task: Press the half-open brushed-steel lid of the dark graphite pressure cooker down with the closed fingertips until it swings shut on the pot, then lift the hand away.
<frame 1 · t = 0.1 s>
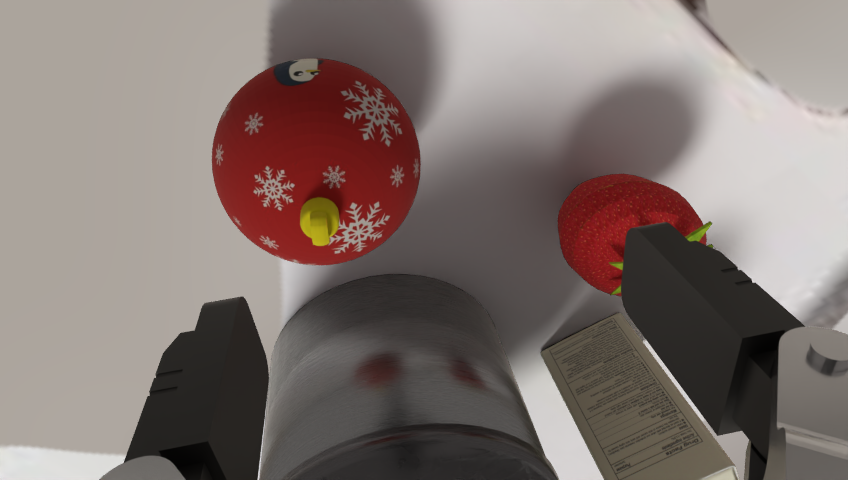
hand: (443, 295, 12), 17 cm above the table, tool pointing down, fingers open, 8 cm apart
christmas ornament: (319, 125, 27), on the table
strawberry: (585, 185, 32), on the table
cooker pot: (388, 366, 37), on the table
skincare box: (588, 346, 39), on the table
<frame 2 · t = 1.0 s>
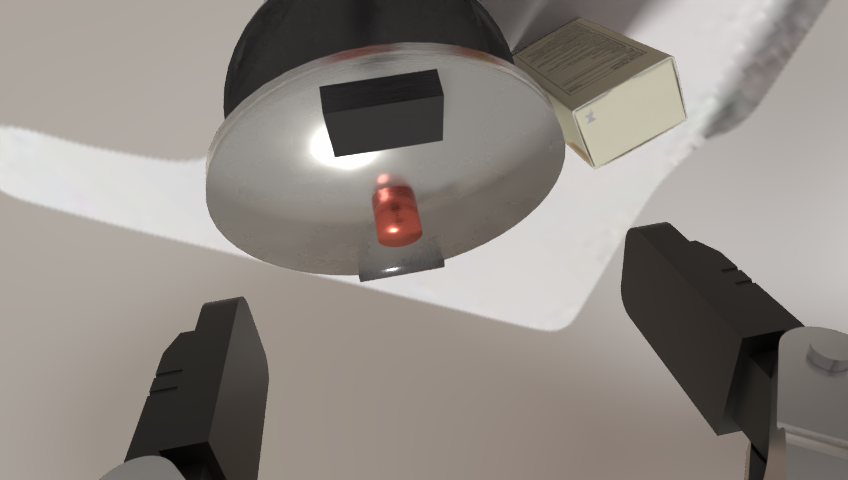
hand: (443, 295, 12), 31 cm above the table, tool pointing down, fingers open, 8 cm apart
cooker pot: (363, 63, 39), on the table
cooker lid: (394, 208, 26), point 18 cm above the table, hinge at 30.0°
skincare box: (553, 61, 42), on the table
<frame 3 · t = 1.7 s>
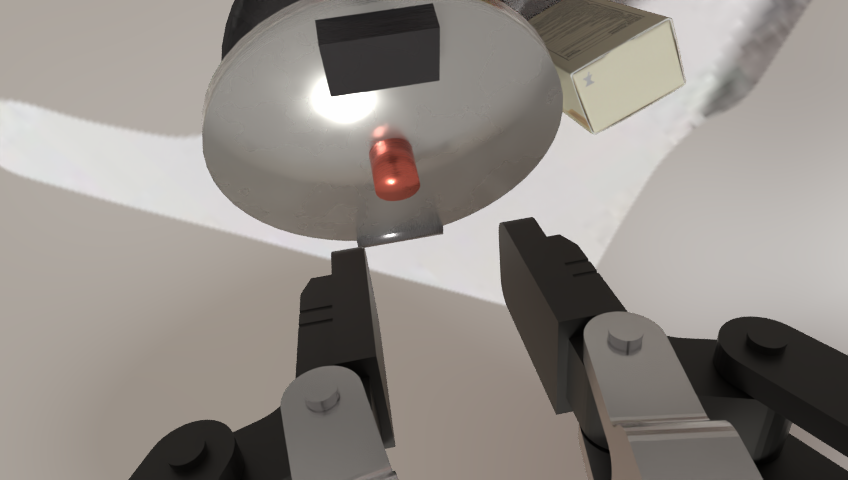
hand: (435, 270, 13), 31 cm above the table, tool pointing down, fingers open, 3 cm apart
cooker pot: (362, 37, 39), on the table
cooker lid: (392, 162, 26), point 18 cm above the table, hinge at 30.0°
skincare box: (551, 37, 42), on the table
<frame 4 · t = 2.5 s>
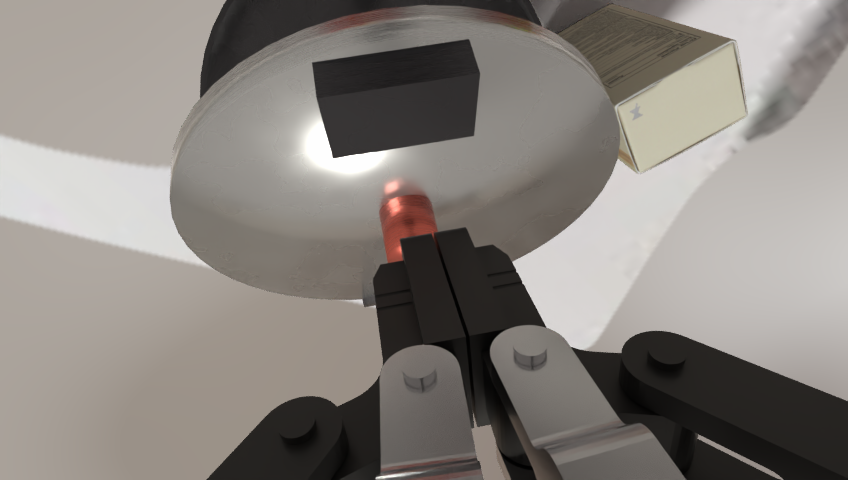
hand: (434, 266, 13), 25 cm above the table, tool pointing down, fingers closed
cooker pot: (367, 55, 35), on the table
cooker lid: (407, 222, 21), point 18 cm above the table, hinge at 30.0°
skincare box: (580, 53, 37), on the table
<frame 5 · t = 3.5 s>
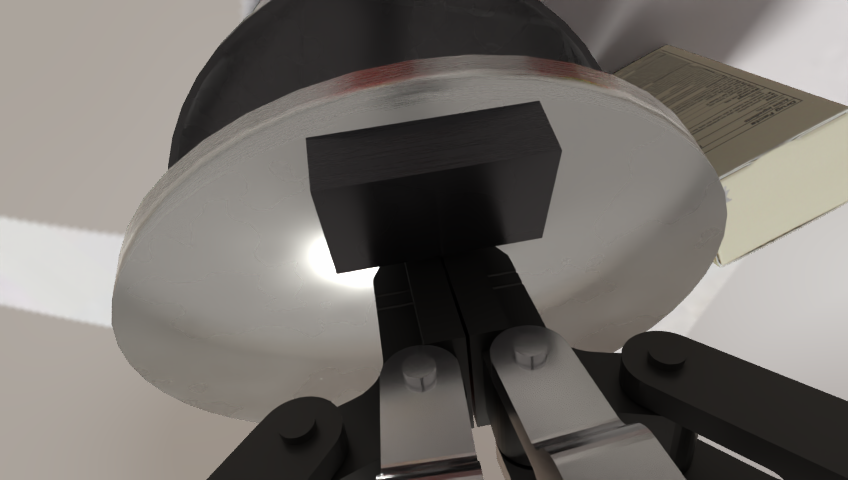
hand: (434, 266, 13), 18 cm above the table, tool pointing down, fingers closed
cooker pot: (379, 106, 29), on the table
cooker lid: (437, 341, 16), point 17 cm above the table, hinge at 23.5°, touching gripper
skincare box: (628, 101, 32), on the table
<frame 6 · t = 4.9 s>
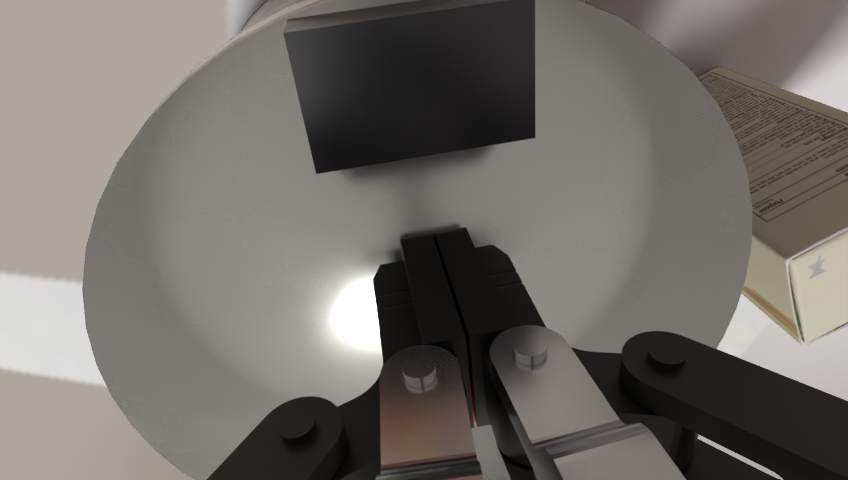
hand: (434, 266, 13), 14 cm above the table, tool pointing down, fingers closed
cooker pot: (388, 138, 25), on the table
cooker lid: (445, 354, 14), point 14 cm above the table, hinge at 0.3°, touching gripper
skincare box: (671, 129, 28), on the table
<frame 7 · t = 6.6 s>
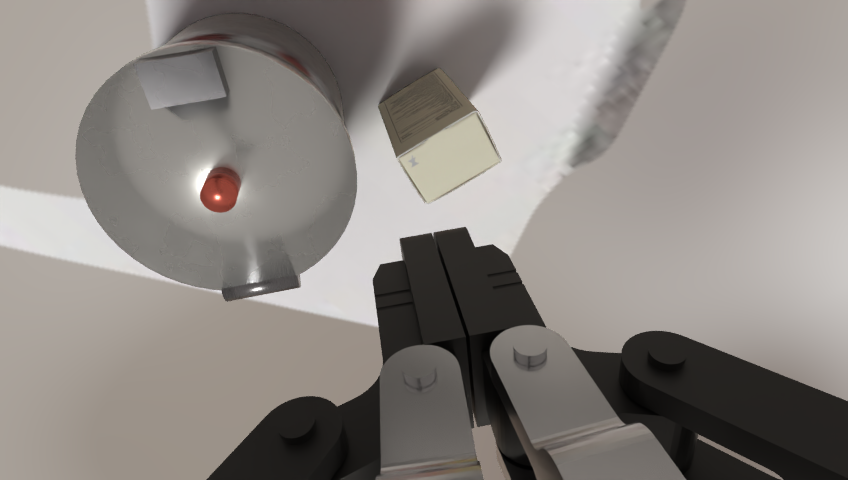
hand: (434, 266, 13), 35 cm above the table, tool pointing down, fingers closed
cooker pot: (249, 111, 45), on the table
cooker lid: (225, 190, 34), point 14 cm above the table, hinge at 0.1°
skincare box: (421, 105, 47), on the table
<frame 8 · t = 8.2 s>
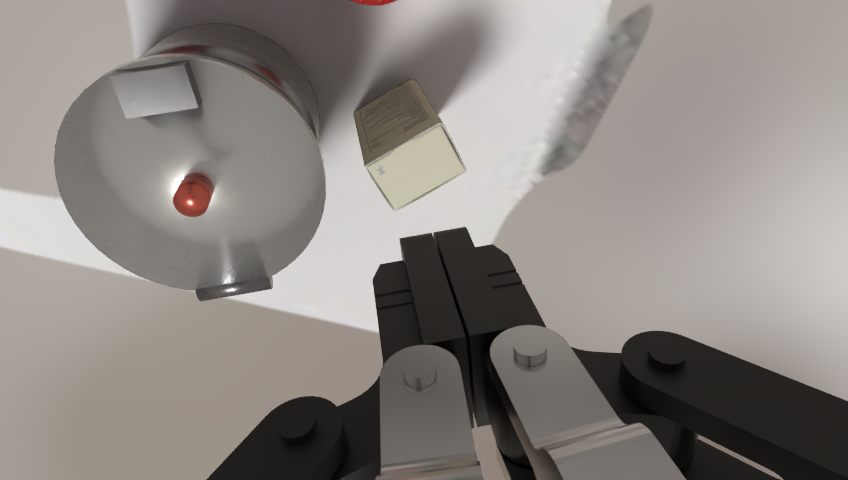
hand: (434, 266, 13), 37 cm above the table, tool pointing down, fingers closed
cooker pot: (228, 117, 47), on the table
cooker lid: (198, 195, 35), point 14 cm above the table, hinge at 0.1°
skincare box: (395, 113, 49), on the table
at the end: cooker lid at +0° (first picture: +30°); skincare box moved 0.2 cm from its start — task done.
